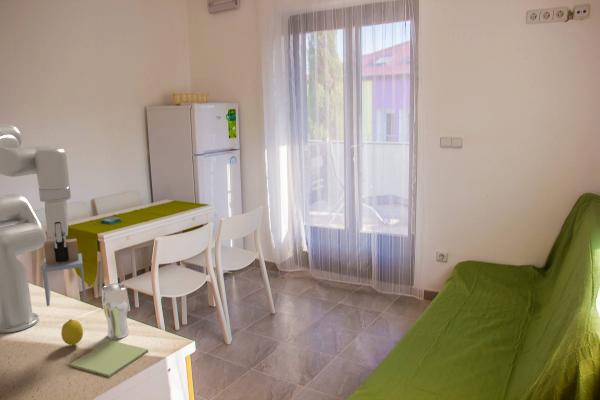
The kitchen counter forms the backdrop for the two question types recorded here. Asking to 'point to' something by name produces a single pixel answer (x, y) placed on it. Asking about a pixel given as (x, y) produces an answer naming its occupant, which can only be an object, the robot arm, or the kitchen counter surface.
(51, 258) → the cover
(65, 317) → the kitchen counter surface
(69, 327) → the lemon
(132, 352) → the mat
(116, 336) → the beer glass
